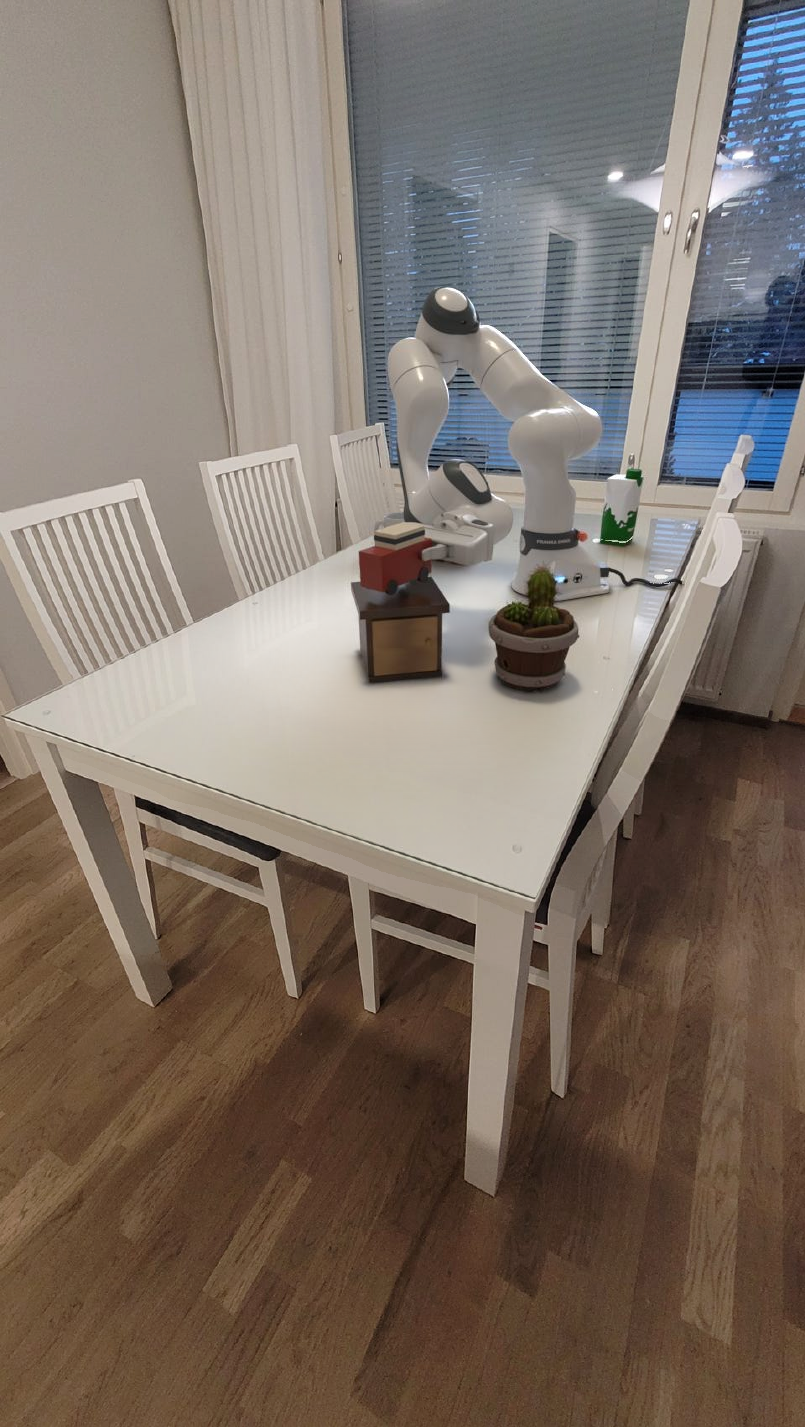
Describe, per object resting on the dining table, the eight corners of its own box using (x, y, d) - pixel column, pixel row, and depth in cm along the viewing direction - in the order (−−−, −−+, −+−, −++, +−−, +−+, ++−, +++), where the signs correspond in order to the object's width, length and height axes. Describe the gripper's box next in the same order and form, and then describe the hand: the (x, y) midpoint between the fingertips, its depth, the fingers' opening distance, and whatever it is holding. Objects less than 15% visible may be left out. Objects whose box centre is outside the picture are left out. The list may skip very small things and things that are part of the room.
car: (409, 572, 116) (408, 519, 112) (432, 578, 113) (432, 523, 109) (359, 592, 108) (356, 535, 103) (383, 598, 105) (381, 540, 100)
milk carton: (626, 547, 181) (637, 473, 171) (595, 543, 186) (604, 470, 176) (636, 540, 187) (648, 468, 177) (606, 536, 192) (616, 465, 182)
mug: (420, 553, 179) (420, 513, 174) (407, 561, 173) (407, 520, 167) (382, 549, 184) (380, 510, 178) (368, 557, 177) (366, 516, 172)
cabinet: (430, 643, 125) (431, 576, 119) (449, 679, 112) (450, 605, 105) (354, 650, 123) (350, 582, 117) (363, 687, 110) (359, 612, 103)
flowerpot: (555, 707, 103) (570, 586, 93) (470, 685, 110) (474, 571, 100) (585, 672, 113) (600, 561, 103) (505, 654, 120) (512, 548, 110)
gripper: (410, 510, 123) (361, 525, 114) (501, 526, 112) (454, 543, 103) (411, 543, 126) (363, 560, 117) (499, 561, 115) (453, 581, 106)
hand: (406, 552), depth 110 cm, fingers closed on car, 5 cm apart
